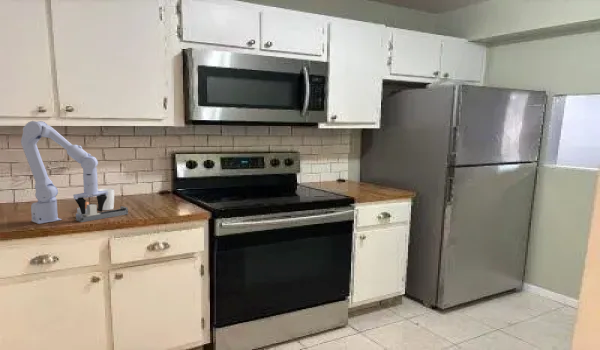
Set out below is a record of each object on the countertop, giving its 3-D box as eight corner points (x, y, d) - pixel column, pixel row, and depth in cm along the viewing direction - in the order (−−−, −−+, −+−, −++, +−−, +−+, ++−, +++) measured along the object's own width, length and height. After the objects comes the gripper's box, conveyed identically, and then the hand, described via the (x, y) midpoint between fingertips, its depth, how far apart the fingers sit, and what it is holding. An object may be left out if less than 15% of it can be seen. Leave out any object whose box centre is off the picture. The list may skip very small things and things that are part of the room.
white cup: (96, 210, 201) (95, 191, 200) (99, 207, 209) (98, 188, 208) (113, 210, 203) (112, 190, 202) (116, 207, 211) (115, 188, 210)
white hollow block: (82, 218, 186) (82, 209, 186) (77, 216, 189) (77, 208, 188) (95, 215, 191) (95, 207, 190) (90, 214, 194) (90, 206, 193)
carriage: (87, 218, 181) (86, 206, 180) (83, 217, 183) (83, 205, 182) (100, 216, 186) (99, 204, 185) (96, 215, 188) (96, 203, 187)
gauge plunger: (84, 212, 188) (84, 203, 187) (82, 211, 189) (82, 202, 189) (90, 211, 190) (89, 202, 189) (87, 210, 191) (87, 201, 191)
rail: (81, 222, 178) (80, 215, 178) (76, 220, 181) (75, 213, 181) (128, 214, 196) (127, 207, 195) (122, 212, 199) (122, 206, 198)
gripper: (78, 185, 174) (79, 216, 176) (110, 182, 186) (111, 211, 188) (70, 184, 179) (72, 214, 180) (103, 180, 190) (104, 209, 192)
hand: (91, 212), depth 184 cm, fingers open, 7 cm apart
